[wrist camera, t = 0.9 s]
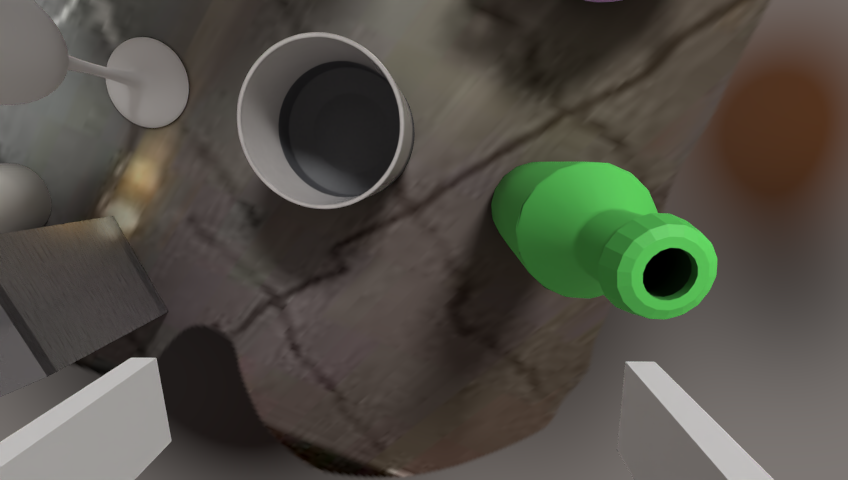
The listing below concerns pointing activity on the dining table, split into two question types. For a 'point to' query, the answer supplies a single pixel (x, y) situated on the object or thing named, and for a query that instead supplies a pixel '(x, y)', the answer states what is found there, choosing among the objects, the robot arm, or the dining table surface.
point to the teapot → (602, 0)
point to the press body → (67, 297)
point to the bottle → (602, 238)
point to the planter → (323, 121)
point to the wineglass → (88, 67)
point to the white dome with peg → (22, 199)
